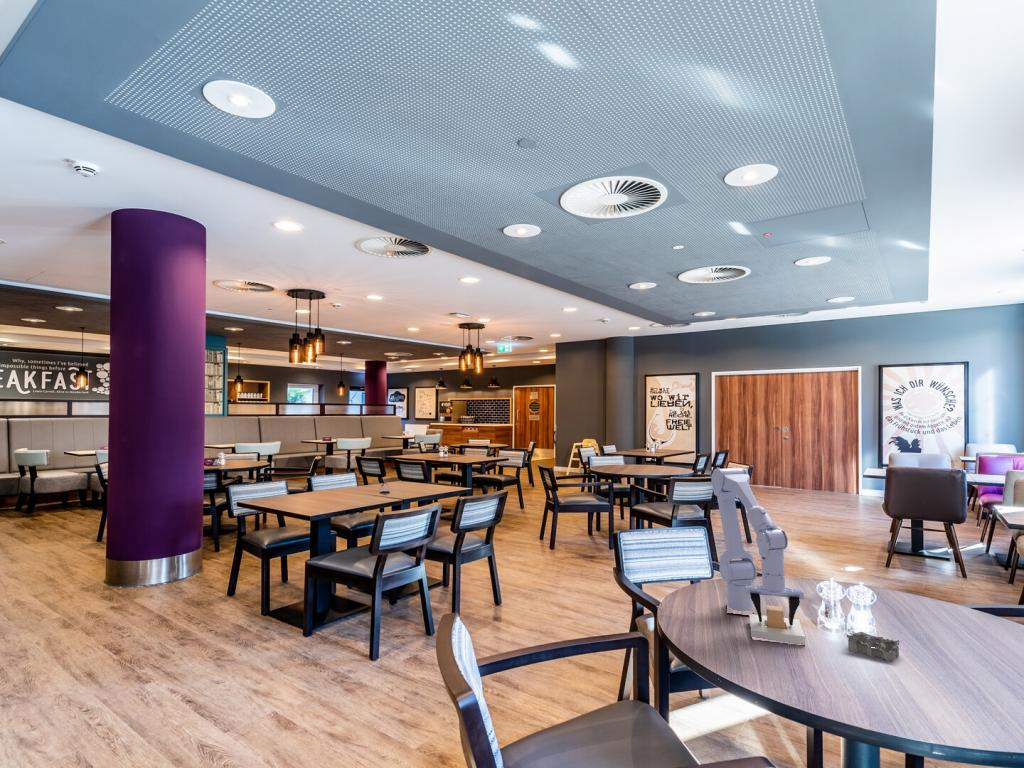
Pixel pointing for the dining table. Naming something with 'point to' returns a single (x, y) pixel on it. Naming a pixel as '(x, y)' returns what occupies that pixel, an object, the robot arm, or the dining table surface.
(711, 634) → the dining table surface
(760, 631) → the socket plate
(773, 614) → the peg
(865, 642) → the egg carton
